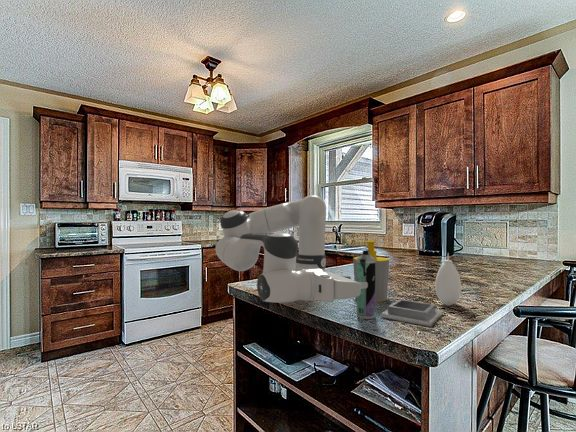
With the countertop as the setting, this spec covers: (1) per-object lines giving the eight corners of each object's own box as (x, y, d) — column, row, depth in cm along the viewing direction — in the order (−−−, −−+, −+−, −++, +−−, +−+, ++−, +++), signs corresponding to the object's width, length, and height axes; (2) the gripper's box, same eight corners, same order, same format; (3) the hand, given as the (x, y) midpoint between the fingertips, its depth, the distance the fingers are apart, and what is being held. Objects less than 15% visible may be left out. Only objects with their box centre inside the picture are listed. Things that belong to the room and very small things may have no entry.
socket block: (381, 317, 98) (381, 306, 98) (396, 307, 109) (396, 297, 109) (430, 326, 90) (430, 315, 90) (442, 314, 101) (442, 304, 101)
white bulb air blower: (446, 300, 118) (446, 251, 118) (465, 306, 111) (466, 253, 111) (430, 303, 115) (430, 251, 115) (450, 308, 108) (450, 254, 108)
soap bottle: (352, 293, 130) (352, 239, 130) (386, 294, 128) (387, 240, 128) (353, 301, 117) (353, 242, 117) (391, 303, 115) (391, 242, 115)
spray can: (375, 319, 96) (376, 251, 96) (356, 318, 97) (356, 250, 97) (374, 314, 101) (374, 249, 101) (356, 313, 102) (356, 249, 102)
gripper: (301, 287, 103) (340, 285, 108) (330, 304, 84) (377, 300, 88) (301, 267, 103) (340, 266, 108) (331, 279, 84) (377, 276, 88)
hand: (357, 281), depth 98 cm, fingers open, 8 cm apart
